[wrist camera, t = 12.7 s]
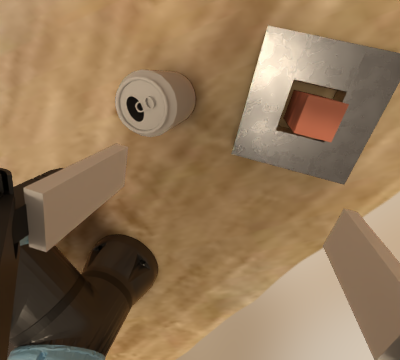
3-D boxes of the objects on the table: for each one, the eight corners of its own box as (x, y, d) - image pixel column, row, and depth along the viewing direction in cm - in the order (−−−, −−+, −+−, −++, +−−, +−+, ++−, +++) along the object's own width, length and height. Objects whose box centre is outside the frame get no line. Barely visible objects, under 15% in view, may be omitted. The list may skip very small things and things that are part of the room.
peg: (311, 125, 34) (331, 142, 25) (283, 118, 35) (293, 133, 26) (322, 96, 33) (349, 104, 24) (293, 89, 33) (308, 94, 24)
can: (142, 83, 37) (96, 85, 26) (185, 62, 34) (154, 56, 24) (162, 128, 39) (127, 148, 28) (204, 112, 37) (183, 127, 26)
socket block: (335, 173, 36) (344, 184, 33) (233, 146, 38) (231, 154, 34) (393, 58, 29) (413, 56, 26) (266, 31, 31) (268, 25, 27)
